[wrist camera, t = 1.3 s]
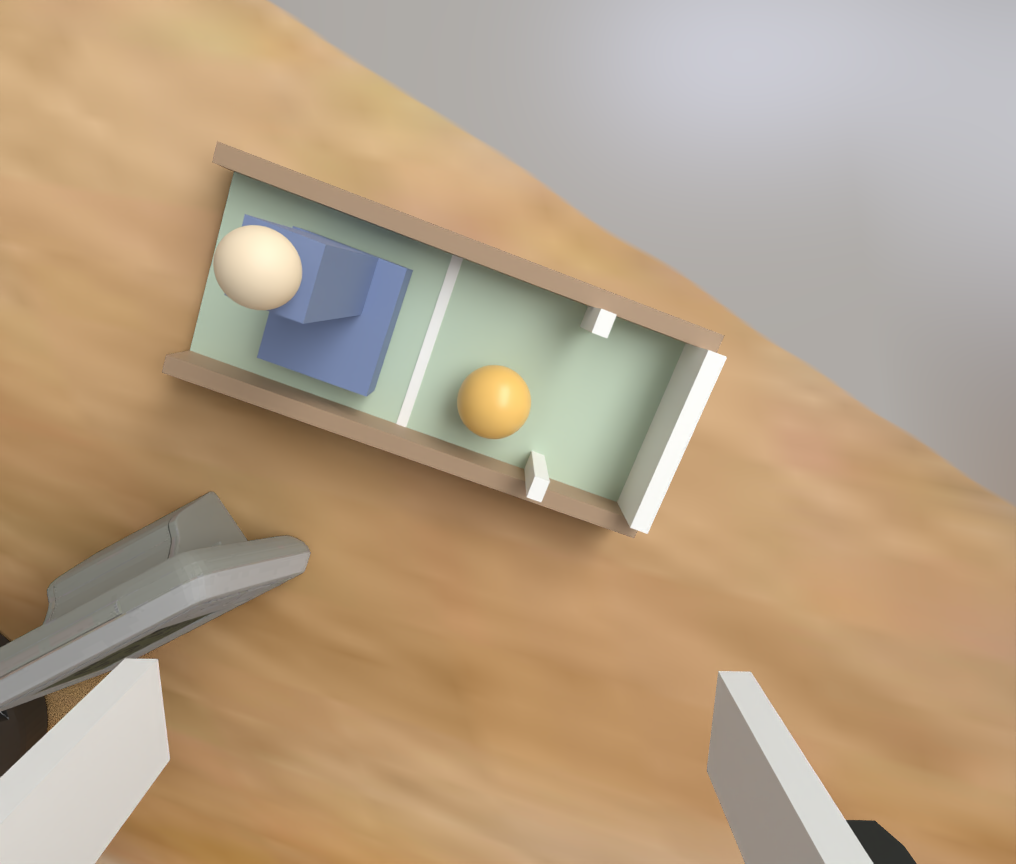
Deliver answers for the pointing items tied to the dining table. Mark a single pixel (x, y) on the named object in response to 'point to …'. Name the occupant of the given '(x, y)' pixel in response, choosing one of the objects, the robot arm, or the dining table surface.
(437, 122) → the dining table surface
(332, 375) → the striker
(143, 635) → the digital clock
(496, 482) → the pitch
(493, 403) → the ball
